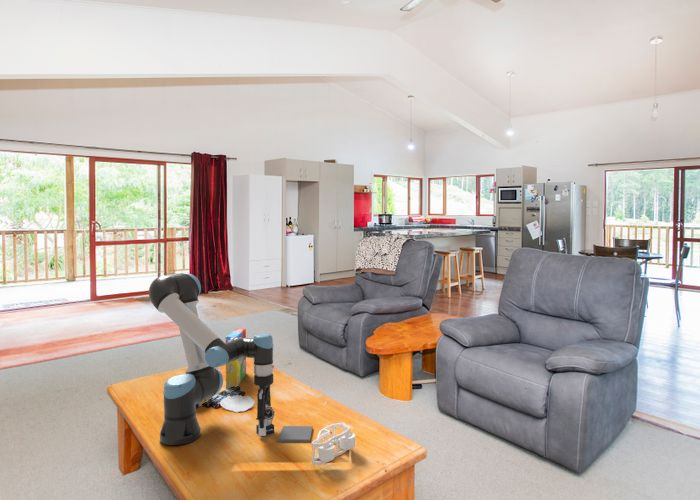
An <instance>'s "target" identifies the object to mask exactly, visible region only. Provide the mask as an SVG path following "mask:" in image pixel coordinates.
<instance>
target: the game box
mask: <svg viewBox="0 0 700 500" xmlns="http://www.w3.org/2000/svg"><path fill="white" fill-rule="evenodd" d="M246 330H247V329H246V328H235V329H234V330H233V331H231V332H230V333H229V334H228V335H226V336H225V343H227V341H228V340H229V339H230V338H232V337H242V338H247V337H246V336H247V335H246V334H247V333H246V332H247V331H246ZM246 374H247V357H242V358H240V359H237V360H235V361H232V362H229V363H227V364H225V389H232V388H231V387H233V386H239V385H240V384H241V381H242V380H244V377H245V375H246Z"/></svg>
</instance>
